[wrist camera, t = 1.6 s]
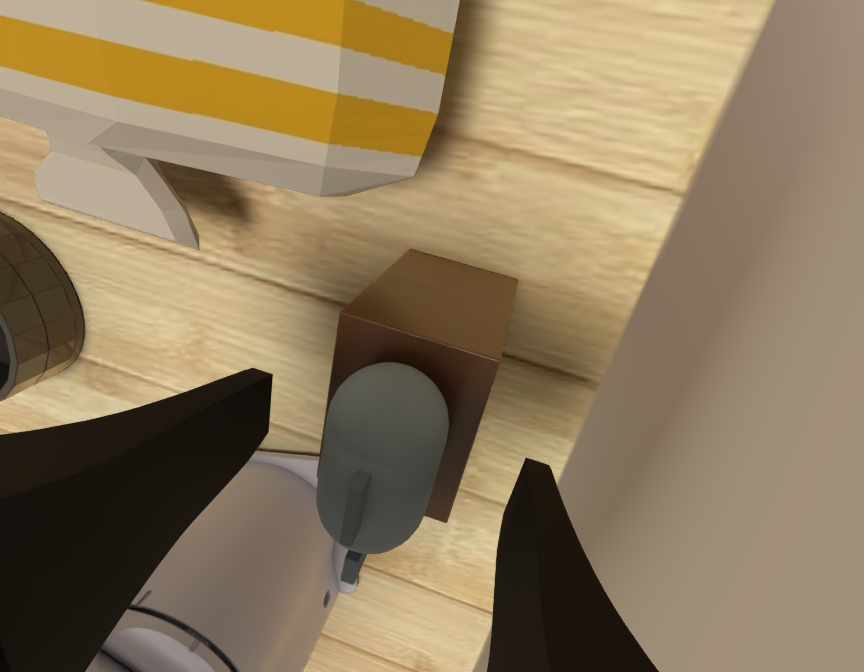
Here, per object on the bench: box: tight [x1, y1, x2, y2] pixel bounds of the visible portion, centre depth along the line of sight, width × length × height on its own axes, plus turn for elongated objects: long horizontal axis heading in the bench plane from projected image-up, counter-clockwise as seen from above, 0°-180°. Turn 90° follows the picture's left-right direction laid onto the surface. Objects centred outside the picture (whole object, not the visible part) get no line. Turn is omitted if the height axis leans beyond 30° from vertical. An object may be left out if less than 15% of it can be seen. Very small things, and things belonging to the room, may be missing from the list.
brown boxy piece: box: [317, 249, 518, 523], centre depth 17 cm, size 6×4×7 cm
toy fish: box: [316, 362, 449, 585], centre depth 12 cm, size 6×3×4 cm, turn 167°
